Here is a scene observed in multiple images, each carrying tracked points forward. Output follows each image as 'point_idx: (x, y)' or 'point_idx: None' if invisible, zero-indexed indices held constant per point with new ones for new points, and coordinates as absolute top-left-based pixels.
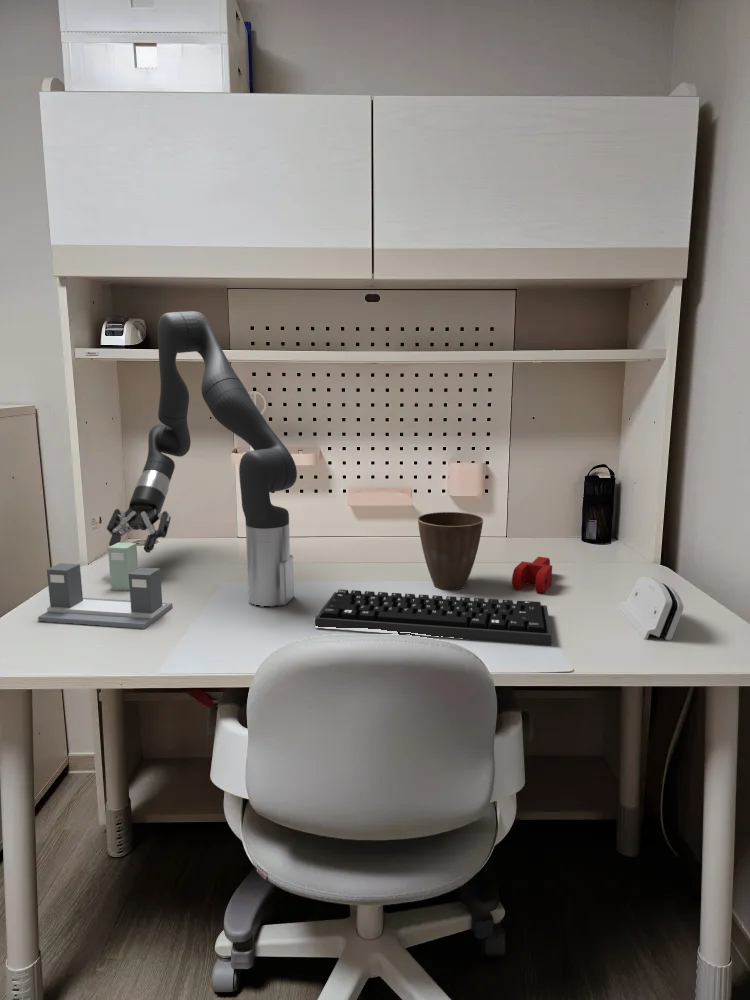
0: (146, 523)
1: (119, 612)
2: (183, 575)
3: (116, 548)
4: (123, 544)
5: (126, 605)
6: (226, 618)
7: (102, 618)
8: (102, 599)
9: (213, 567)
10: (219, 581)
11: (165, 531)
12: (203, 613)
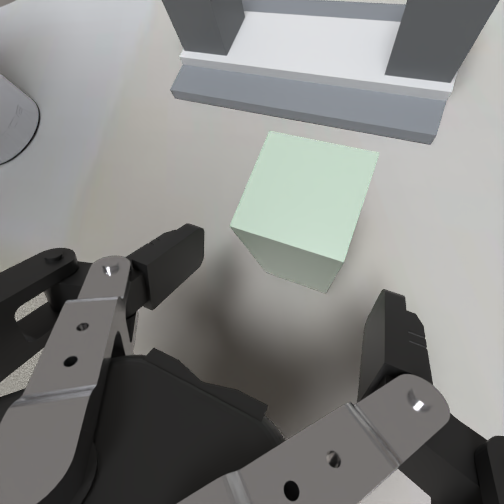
0: (99, 318)
1: (269, 13)
2: (142, 340)
3: (324, 142)
4: (299, 207)
5: (261, 49)
6: (90, 52)
7: (305, 11)
8: (338, 114)
9: None
10: None
11: (39, 311)
12: (122, 72)
